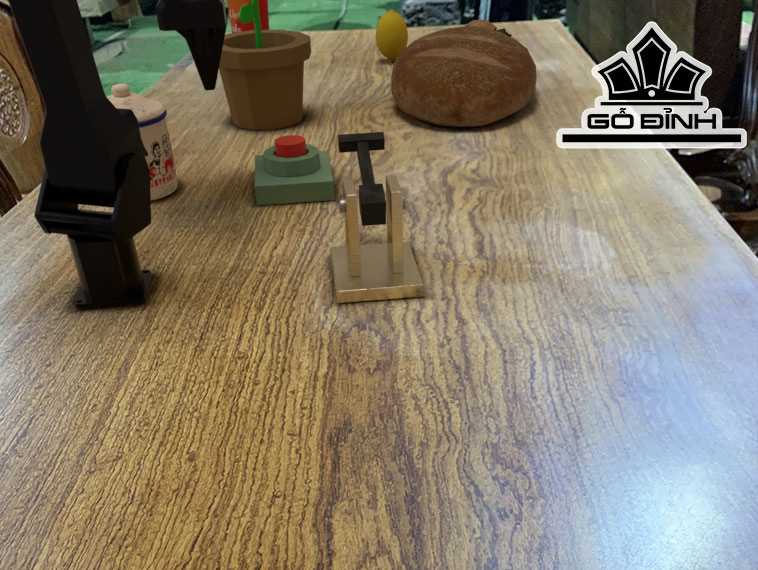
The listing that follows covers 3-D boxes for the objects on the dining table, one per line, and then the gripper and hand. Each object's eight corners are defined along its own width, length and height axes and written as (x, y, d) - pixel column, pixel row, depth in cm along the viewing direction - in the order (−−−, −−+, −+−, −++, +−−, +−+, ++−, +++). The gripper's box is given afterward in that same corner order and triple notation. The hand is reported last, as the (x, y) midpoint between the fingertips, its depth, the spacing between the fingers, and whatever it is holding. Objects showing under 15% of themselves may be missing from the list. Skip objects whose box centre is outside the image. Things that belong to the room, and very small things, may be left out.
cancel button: (307, 159, 96) (305, 143, 95) (276, 161, 96) (274, 145, 95) (306, 149, 99) (304, 134, 98) (275, 151, 99) (274, 136, 97)
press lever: (338, 151, 82) (337, 128, 80) (383, 148, 83) (383, 125, 81) (349, 227, 76) (348, 204, 74) (398, 223, 76) (398, 200, 74)
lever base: (330, 258, 84) (324, 169, 78) (409, 252, 84) (408, 163, 78) (337, 303, 76) (330, 208, 70) (423, 296, 77) (423, 201, 71)
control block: (334, 200, 96) (332, 164, 93) (256, 205, 95) (252, 170, 93) (328, 168, 104) (326, 135, 101) (257, 173, 103) (253, 139, 101)
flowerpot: (296, 137, 114) (271, -139, 94) (202, 131, 117) (158, -137, 98) (329, 108, 124) (313, -147, 105) (242, 103, 128) (210, -144, 108)
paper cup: (227, 67, 146) (214, -27, 137) (268, 61, 148) (259, -32, 139) (240, 76, 140) (228, -21, 131) (283, 70, 143) (274, -25, 133)
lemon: (372, 65, 144) (370, 12, 138) (381, 57, 148) (380, 6, 142) (403, 66, 142) (402, 13, 137) (411, 59, 146) (411, 6, 141)
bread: (380, 132, 114) (378, 65, 109) (400, 66, 142) (400, 10, 137) (540, 132, 113) (546, 64, 107) (529, 65, 140) (534, 8, 135)
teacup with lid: (167, 205, 96) (145, 96, 88) (92, 204, 97) (64, 96, 89) (196, 169, 105) (178, 68, 98) (127, 169, 106) (105, 68, 98)
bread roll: (475, 51, 150) (476, 28, 147) (444, 43, 155) (445, 21, 152) (517, 41, 154) (519, 18, 152) (486, 34, 159) (487, 12, 157)
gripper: (109, -95, 85) (143, 72, 95) (80, -75, 71) (123, 119, 81) (218, -100, 86) (240, 66, 96) (210, -81, 72) (237, 112, 82)
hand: (210, 89), depth 89 cm, fingers closed
